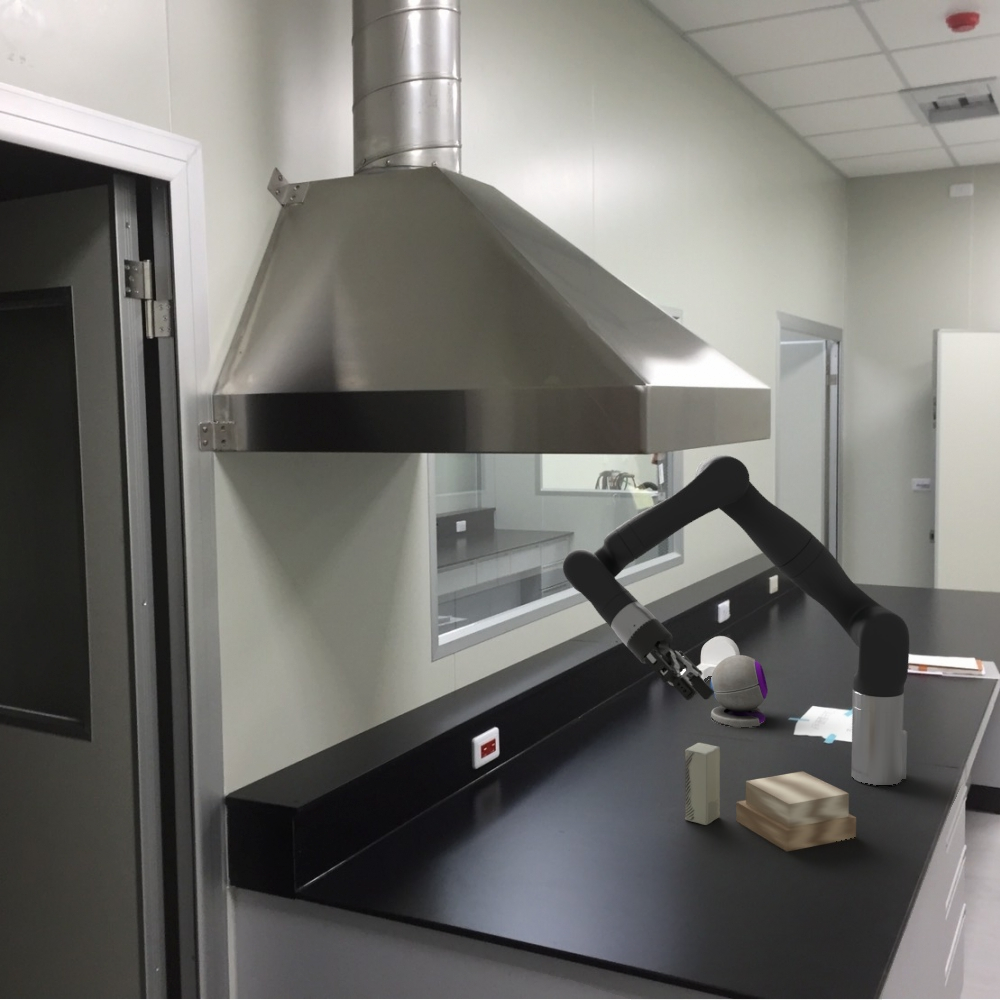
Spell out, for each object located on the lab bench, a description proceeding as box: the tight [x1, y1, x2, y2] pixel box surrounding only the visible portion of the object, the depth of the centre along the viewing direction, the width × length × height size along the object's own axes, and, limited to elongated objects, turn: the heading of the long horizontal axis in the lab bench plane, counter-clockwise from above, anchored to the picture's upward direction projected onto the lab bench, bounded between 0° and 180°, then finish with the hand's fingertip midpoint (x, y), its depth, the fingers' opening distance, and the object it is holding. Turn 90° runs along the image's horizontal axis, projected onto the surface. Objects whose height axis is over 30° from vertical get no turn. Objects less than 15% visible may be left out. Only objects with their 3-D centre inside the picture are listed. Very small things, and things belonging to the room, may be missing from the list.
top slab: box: [745, 771, 850, 828], centre depth 180 cm, size 12×12×4 cm
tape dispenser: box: [696, 635, 741, 680], centre depth 285 cm, size 10×18×11 cm, turn 153°
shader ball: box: [710, 654, 769, 728], centre depth 244 cm, size 13×13×15 cm
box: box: [684, 742, 721, 826], centre depth 185 cm, size 5×4×13 cm
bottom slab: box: [735, 799, 857, 852], centre depth 180 cm, size 14×14×4 cm
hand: (701, 696), depth 187 cm, fingers open, 8 cm apart
